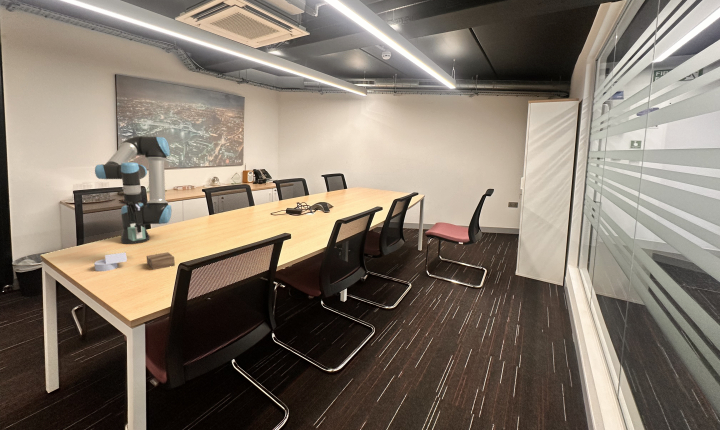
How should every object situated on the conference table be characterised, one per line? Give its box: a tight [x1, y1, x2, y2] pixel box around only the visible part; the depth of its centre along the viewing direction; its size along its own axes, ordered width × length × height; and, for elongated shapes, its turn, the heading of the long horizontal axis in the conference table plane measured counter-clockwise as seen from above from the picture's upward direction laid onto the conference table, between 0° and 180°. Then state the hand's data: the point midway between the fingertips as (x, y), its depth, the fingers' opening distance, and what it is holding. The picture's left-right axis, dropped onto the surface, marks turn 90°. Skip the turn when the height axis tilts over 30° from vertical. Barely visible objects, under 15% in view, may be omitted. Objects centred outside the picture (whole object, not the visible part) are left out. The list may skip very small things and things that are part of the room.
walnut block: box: [146, 251, 176, 271], centre depth 180 cm, size 10×10×5 cm
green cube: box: [127, 227, 146, 241], centre depth 185 cm, size 6×6×6 cm
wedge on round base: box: [93, 252, 128, 272], centre depth 175 cm, size 9×7×13 cm
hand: (136, 236), depth 185 cm, fingers closed on green cube, 6 cm apart
